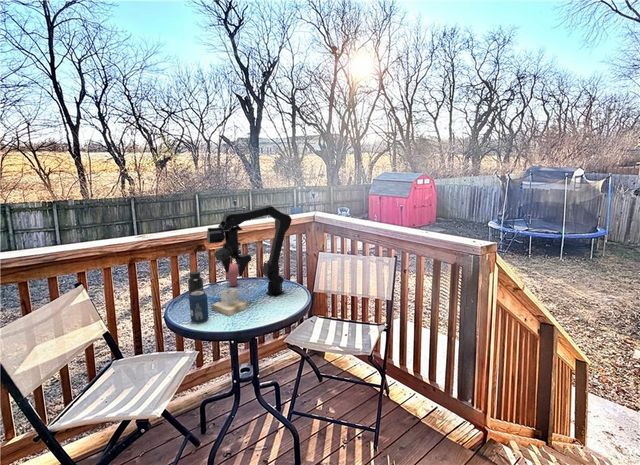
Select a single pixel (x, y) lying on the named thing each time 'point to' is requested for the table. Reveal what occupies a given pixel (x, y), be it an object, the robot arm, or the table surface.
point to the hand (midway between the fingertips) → (233, 274)
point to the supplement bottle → (195, 282)
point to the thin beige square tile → (230, 307)
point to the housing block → (229, 297)
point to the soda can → (198, 306)
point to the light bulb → (233, 274)
